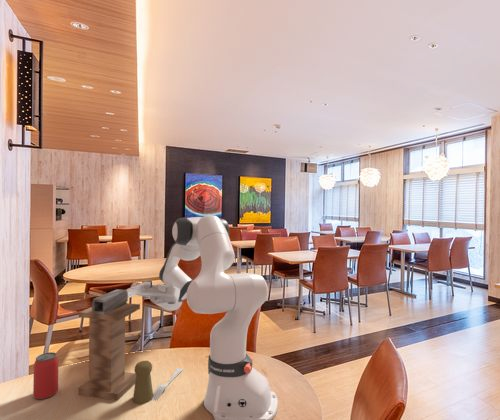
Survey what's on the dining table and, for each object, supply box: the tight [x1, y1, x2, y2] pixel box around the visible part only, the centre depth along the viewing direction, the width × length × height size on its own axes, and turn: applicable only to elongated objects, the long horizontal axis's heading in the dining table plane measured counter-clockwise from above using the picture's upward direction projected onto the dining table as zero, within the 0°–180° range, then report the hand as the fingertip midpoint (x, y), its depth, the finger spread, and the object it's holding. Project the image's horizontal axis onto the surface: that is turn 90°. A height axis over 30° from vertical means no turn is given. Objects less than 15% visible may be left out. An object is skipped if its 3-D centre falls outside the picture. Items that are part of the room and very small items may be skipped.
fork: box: [150, 367, 184, 402], centre depth 106 cm, size 3×21×3 cm, turn 169°
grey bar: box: [125, 280, 153, 299], centre depth 116 cm, size 2×22×2 cm, turn 168°
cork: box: [132, 360, 154, 405], centre depth 97 cm, size 6×6×11 cm
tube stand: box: [77, 289, 141, 401], centre depth 103 cm, size 14×12×31 cm
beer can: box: [32, 351, 59, 400], centre depth 99 cm, size 7×7×12 cm
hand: (146, 285), depth 125 cm, fingers open, 8 cm apart
